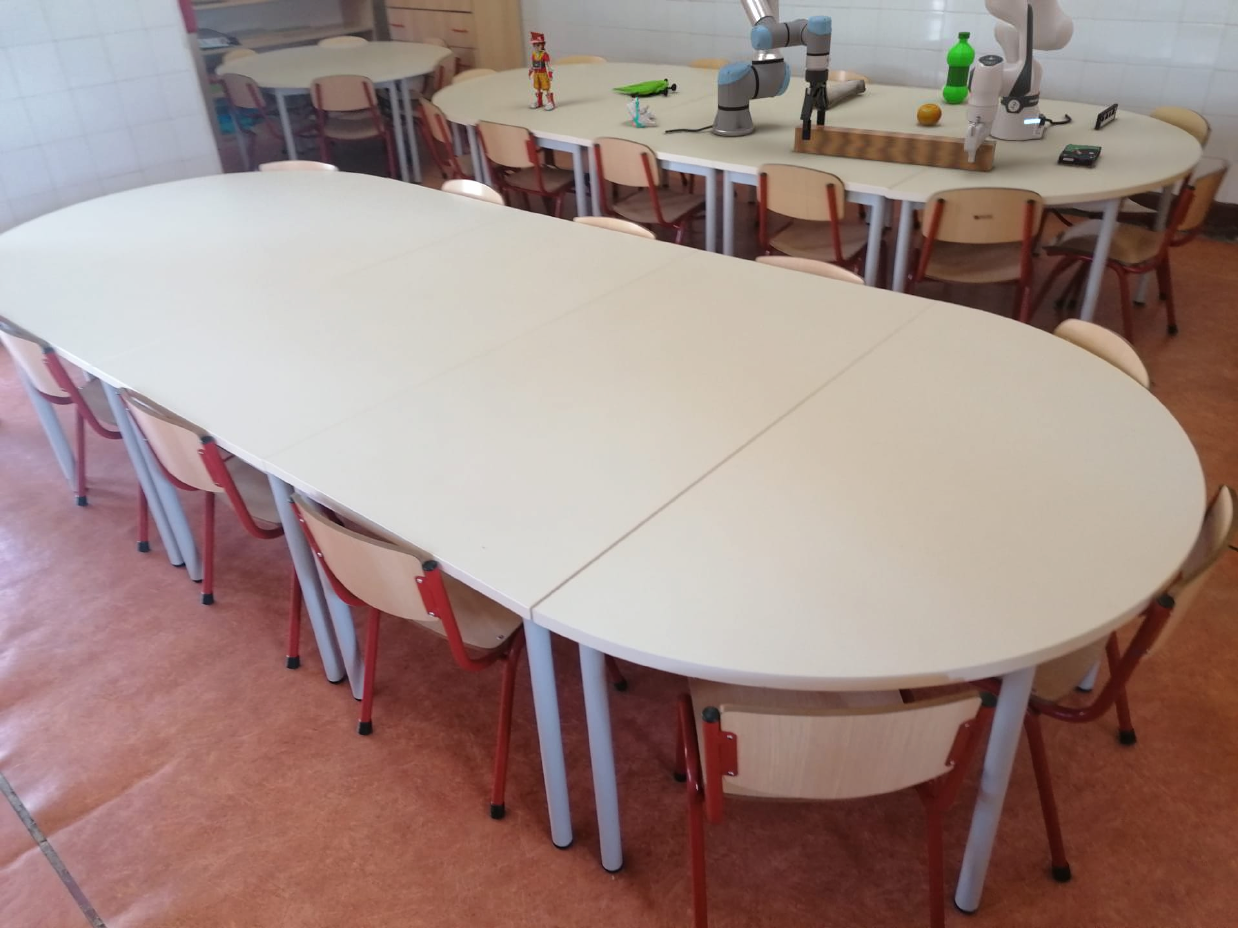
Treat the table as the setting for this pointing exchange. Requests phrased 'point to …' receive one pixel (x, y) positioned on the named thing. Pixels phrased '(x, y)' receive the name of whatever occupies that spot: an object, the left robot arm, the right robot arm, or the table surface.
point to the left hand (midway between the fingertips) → (813, 135)
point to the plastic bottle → (958, 69)
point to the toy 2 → (648, 88)
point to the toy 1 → (541, 71)
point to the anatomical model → (640, 114)
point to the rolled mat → (844, 90)
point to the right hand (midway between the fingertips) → (973, 158)
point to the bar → (894, 147)
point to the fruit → (929, 114)
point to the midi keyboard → (1106, 116)
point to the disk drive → (1079, 155)
